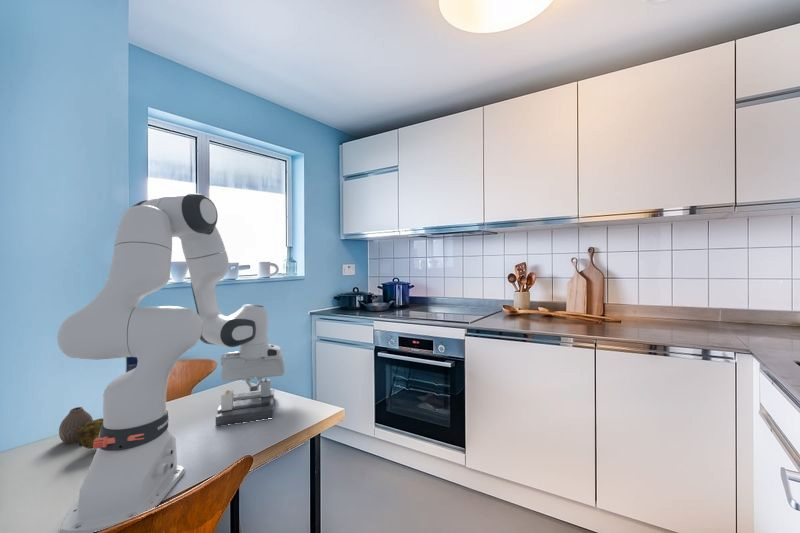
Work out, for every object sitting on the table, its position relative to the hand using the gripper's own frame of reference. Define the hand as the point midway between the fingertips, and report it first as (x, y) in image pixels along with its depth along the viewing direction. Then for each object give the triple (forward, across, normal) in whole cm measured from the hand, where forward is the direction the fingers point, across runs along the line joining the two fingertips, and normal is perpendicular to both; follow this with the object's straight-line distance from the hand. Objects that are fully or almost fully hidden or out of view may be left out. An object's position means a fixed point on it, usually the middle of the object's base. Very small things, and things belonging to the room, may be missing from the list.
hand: (254, 390), depth 117 cm
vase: (+5, -45, -9) cm, 46 cm away
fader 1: (+2, -7, -8) cm, 11 cm away
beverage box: (+5, -34, +2) cm, 34 cm away
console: (+5, -2, -4) cm, 7 cm away
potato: (+5, -35, -16) cm, 38 cm away
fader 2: (+2, +4, 0) cm, 4 cm away
